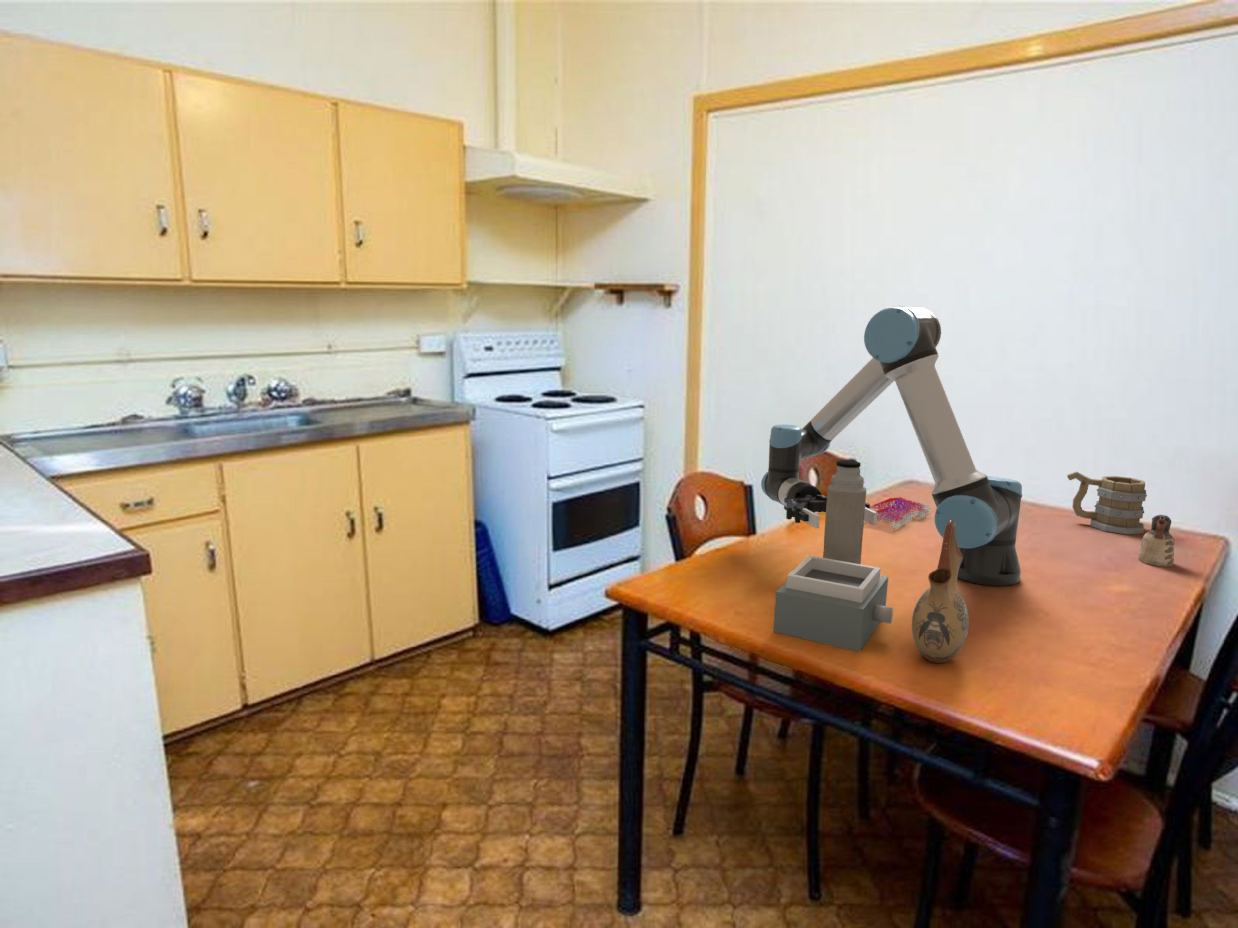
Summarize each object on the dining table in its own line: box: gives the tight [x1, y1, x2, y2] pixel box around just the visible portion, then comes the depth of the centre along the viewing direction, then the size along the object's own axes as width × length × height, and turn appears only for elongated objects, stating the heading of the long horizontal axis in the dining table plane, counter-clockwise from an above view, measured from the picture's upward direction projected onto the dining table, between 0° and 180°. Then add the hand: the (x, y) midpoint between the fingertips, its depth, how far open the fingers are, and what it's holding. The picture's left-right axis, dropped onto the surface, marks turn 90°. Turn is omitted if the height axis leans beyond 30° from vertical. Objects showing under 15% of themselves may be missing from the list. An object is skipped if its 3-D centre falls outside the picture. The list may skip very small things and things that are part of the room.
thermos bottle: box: [822, 459, 867, 565], centre depth 167 cm, size 8×8×28 cm
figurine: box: [1138, 514, 1175, 568], centre depth 189 cm, size 7×7×12 cm
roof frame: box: [864, 496, 933, 531], centre depth 226 cm, size 30×15×5 cm, turn 138°
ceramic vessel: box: [911, 520, 970, 664], centre depth 134 cm, size 16×9×25 cm, turn 148°
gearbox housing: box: [773, 555, 894, 653], centre depth 149 cm, size 19×20×10 cm
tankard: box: [1066, 470, 1148, 536], centre depth 220 cm, size 20×13×15 cm, turn 58°
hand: (847, 520), depth 166 cm, fingers open, 13 cm apart
